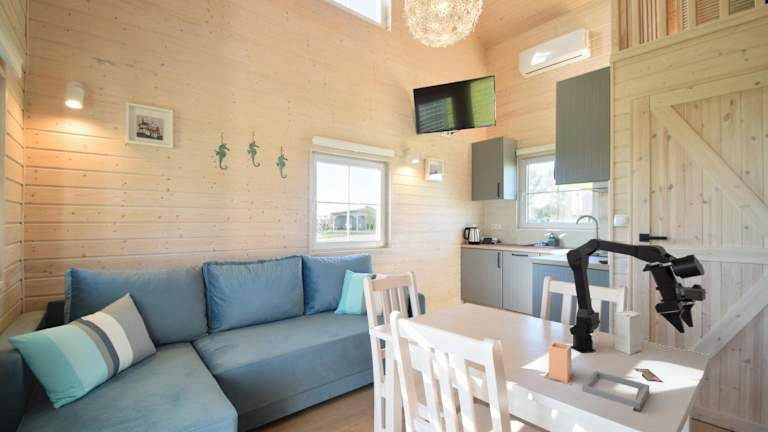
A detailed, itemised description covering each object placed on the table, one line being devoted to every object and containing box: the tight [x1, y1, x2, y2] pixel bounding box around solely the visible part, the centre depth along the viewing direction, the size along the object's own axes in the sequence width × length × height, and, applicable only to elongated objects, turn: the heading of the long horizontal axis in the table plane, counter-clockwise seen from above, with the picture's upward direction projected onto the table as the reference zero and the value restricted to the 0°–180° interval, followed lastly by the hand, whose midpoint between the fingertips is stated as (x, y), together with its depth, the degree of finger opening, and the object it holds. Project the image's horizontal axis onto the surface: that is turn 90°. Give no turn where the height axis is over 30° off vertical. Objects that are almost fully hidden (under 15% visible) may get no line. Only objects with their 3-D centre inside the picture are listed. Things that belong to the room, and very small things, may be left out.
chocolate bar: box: [633, 367, 664, 383], centre depth 117 cm, size 11×5×1 cm, turn 167°
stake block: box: [543, 371, 578, 386], centre depth 114 cm, size 8×8×5 cm
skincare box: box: [614, 309, 643, 355], centre depth 138 cm, size 8×6×15 cm
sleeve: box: [548, 341, 573, 382], centre depth 114 cm, size 5×5×10 cm
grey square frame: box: [581, 370, 650, 413], centre depth 105 cm, size 14×14×2 cm
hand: (687, 330), depth 113 cm, fingers open, 9 cm apart
